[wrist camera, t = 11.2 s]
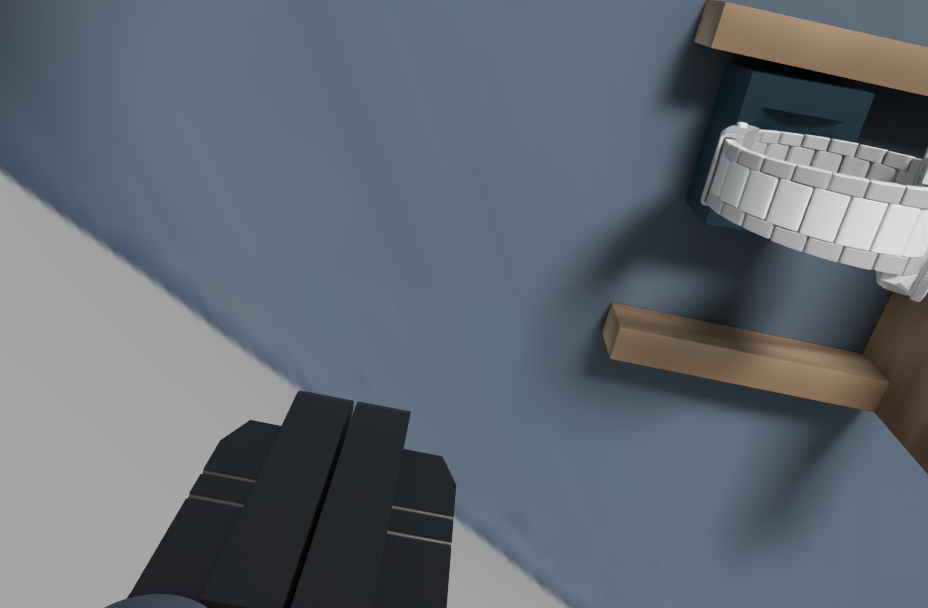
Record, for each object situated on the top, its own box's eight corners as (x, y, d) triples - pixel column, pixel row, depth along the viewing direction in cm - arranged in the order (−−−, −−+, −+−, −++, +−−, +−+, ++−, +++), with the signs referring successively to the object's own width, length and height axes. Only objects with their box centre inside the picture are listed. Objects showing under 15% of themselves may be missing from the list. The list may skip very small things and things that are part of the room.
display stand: (706, -1, 27) (815, 12, 18) (1059, 79, 28) (1342, 131, 18) (602, 332, 33) (643, 472, 24) (897, 392, 33) (1050, 552, 24)
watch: (833, 226, 31) (998, 348, 20) (643, 193, 30) (715, 300, 20) (887, 88, 28) (1102, 150, 18) (682, 51, 28) (785, 93, 18)
